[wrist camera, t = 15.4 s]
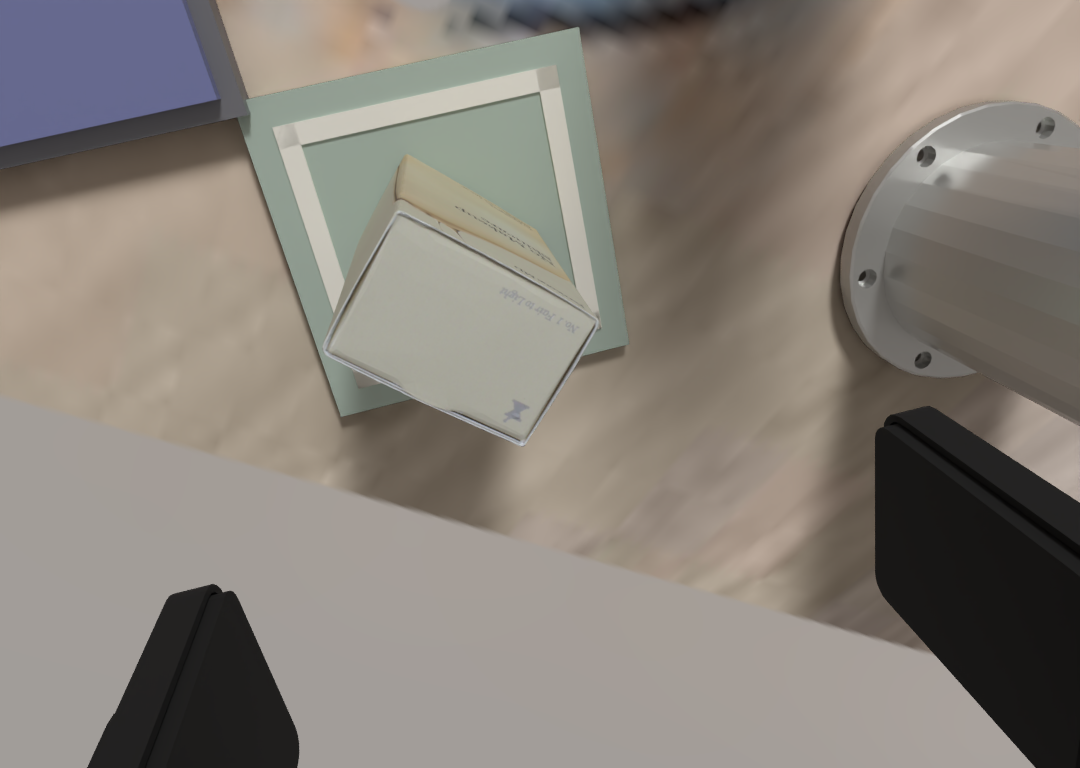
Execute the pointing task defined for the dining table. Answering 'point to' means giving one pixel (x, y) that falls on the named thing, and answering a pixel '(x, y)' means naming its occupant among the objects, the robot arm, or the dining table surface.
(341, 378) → the marked board
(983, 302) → the robot arm
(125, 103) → the ink pad
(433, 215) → the skincare box
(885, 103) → the dining table surface
